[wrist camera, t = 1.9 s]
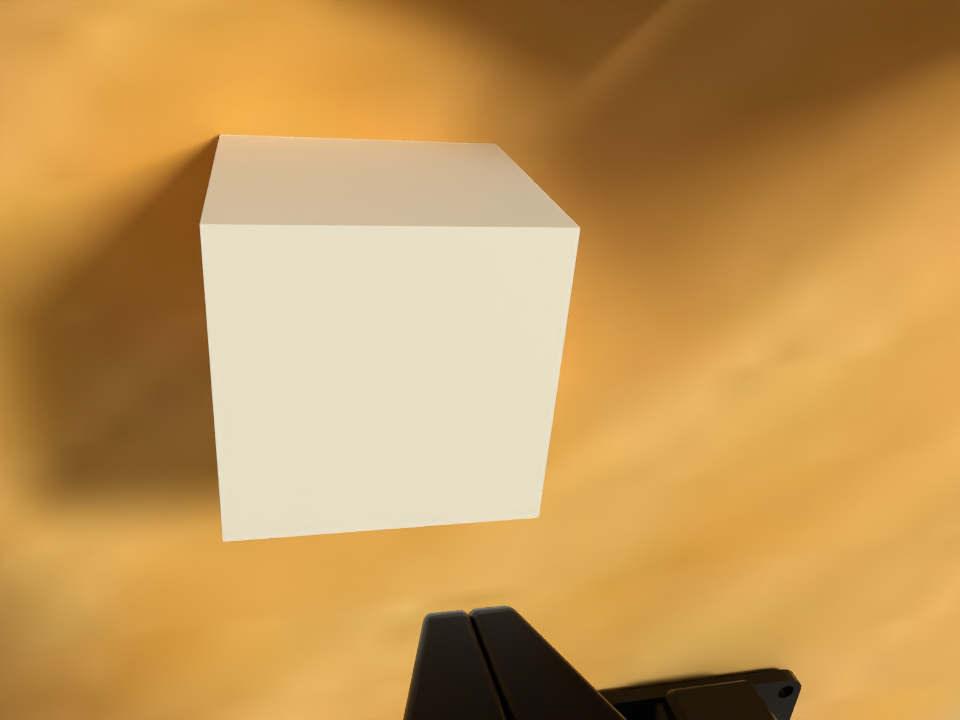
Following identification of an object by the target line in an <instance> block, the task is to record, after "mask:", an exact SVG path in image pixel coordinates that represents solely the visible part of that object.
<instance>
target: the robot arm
mask: <svg viewBox="0 0 960 720" xmlns="http://www.w3.org/2000/svg"><path fill="white" fill-rule="evenodd" d="M800 690H801V685H800V683H799V681H798V680H797V678H796V677H795V675H794V674H793V672H792V671H790V670H775V671H767V672H760V673H752V674H744V675H737V676H729V677H721V678H714V679H706V680H698V681H690V682H683V683H675V684H667V685H660V686H652V687H644V688H637V689H629V690H621V691H614V692H609V693H605V694H603V695H601V694H600V693H599V692H598V691H597V690H596V689H595V688H594V687H593V686H592V685H591V684H590V683H589V682H588V681H587V680H586V679H585V678H584V677H583V676H582V675H581V674H580V673H579V672H578V671H577V670H576V669H575V668H574V667H573V666H572V665H571V664H570V663H569V662H568V661H567V660H566V659H565V658H564V657H562V656H561V655H560V654H559V653H558V652H557V651H556V650H555V649H554V648H553V647H552V646H551V645H550V644H549V643H548V642H547V641H546V640H545V639H544V638H543V637H542V636H541V635H540V634H539V633H538V632H537V631H536V630H535V629H534V628H533V627H532V626H531V625H530V624H529V623H528V622H527V621H526V620H525V619H524V618H523V617H522V616H521V615H520V614H519V613H518V612H517V611H516V610H514V609H513V608H511V607H509V606H497V607H487V608H476V609H473V610H472V611H470V612H469V614H467V613H466V612H465V611H463V610H457V611H447V612H437V613H430V614H427V615H426V616H425V618H424V620H423V624H422V629H421V634H420V639H419V644H418V649H417V654H416V659H415V664H414V669H413V674H412V679H411V684H410V689H409V693H408V698H407V703H406V708H405V713H404V718H403V720H790V717H791V715H792V712H793V709H794V707H795V704H796V701H797V698H798V696H799V693H800Z"/></svg>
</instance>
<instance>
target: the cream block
mask: <svg viewBox="0 0 960 720" xmlns="http://www.w3.org/2000/svg"><path fill="white" fill-rule="evenodd" d="M579 234H580V227H579V226H578V225H577V224H576V223H575V222H574V221H573V220H572V219H571V218H570V217H569V216H568V215H567V214H566V213H565V212H564V211H563V210H562V209H561V208H560V207H559V206H558V205H557V204H556V203H555V202H554V201H553V200H552V199H551V198H550V197H549V196H548V195H547V194H546V193H545V192H544V191H543V190H542V189H541V188H540V187H539V186H538V185H537V184H536V183H535V182H534V181H533V180H532V179H531V178H530V177H529V176H528V175H527V174H526V173H525V172H524V171H523V170H522V169H521V168H520V167H519V166H518V165H517V164H516V163H515V162H514V161H513V160H512V159H511V158H510V157H509V156H508V155H507V154H506V153H505V152H504V151H503V150H502V149H501V148H500V147H499V146H498V145H497V144H492V143H463V142H433V141H404V140H375V139H346V138H316V137H287V136H258V135H229V134H220V136H219V140H218V145H217V149H216V154H215V158H214V163H213V167H212V171H211V176H210V180H209V185H208V189H207V194H206V198H205V202H204V207H203V211H202V216H201V220H200V236H201V250H202V263H203V277H204V290H205V304H206V317H207V331H208V344H209V358H210V371H211V385H212V398H213V412H214V425H215V439H216V452H217V466H218V479H219V493H220V506H221V520H222V533H223V542H226V541H239V540H252V539H265V538H278V537H291V536H304V535H317V534H330V533H343V532H356V531H369V530H383V529H396V528H409V527H422V526H435V525H448V524H461V523H474V522H487V521H500V520H513V519H526V518H539V511H540V504H541V497H542V490H543V483H544V477H545V470H546V463H547V456H548V449H549V442H550V435H551V428H552V421H553V414H554V407H555V400H556V394H557V387H558V380H559V373H560V366H561V359H562V352H563V345H564V338H565V331H566V324H567V317H568V310H569V304H570V297H571V290H572V283H573V276H574V269H575V262H576V255H577V248H578V241H579Z"/></svg>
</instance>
